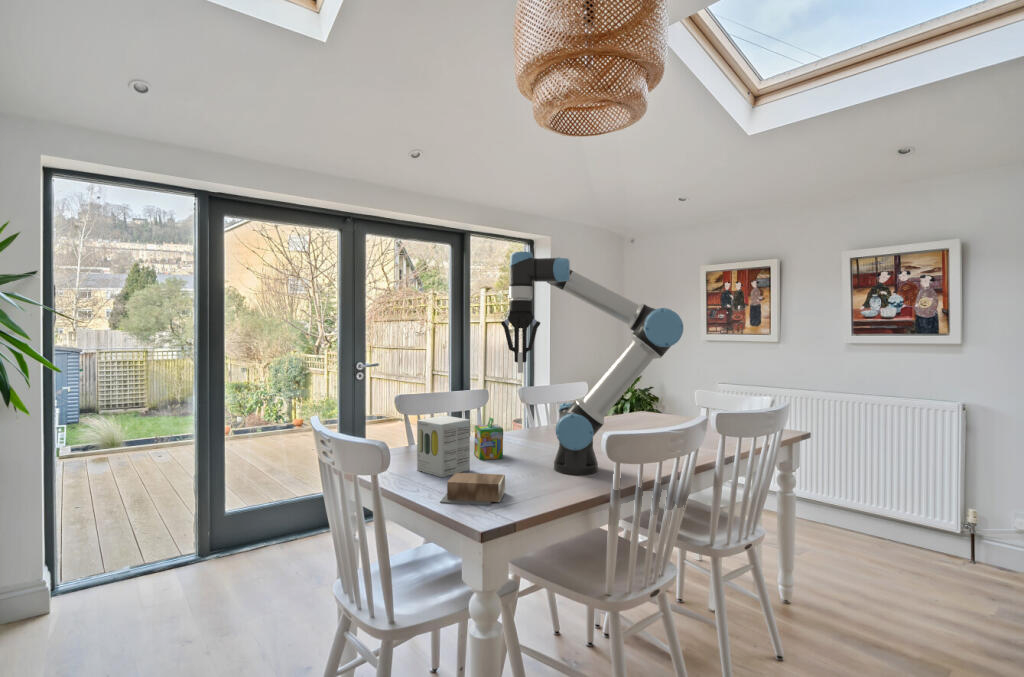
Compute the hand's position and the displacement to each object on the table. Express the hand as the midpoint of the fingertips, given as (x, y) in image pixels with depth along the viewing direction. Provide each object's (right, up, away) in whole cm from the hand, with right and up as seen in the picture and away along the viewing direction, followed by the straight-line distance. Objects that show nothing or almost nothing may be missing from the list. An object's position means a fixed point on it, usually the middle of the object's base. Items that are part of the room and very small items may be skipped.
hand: (520, 372), depth 177 cm
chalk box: (-12, -34, +28) cm, 46 cm away
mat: (-15, -35, -19) cm, 42 cm away
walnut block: (-5, -32, -21) cm, 39 cm away
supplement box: (-26, -34, +9) cm, 44 cm away
